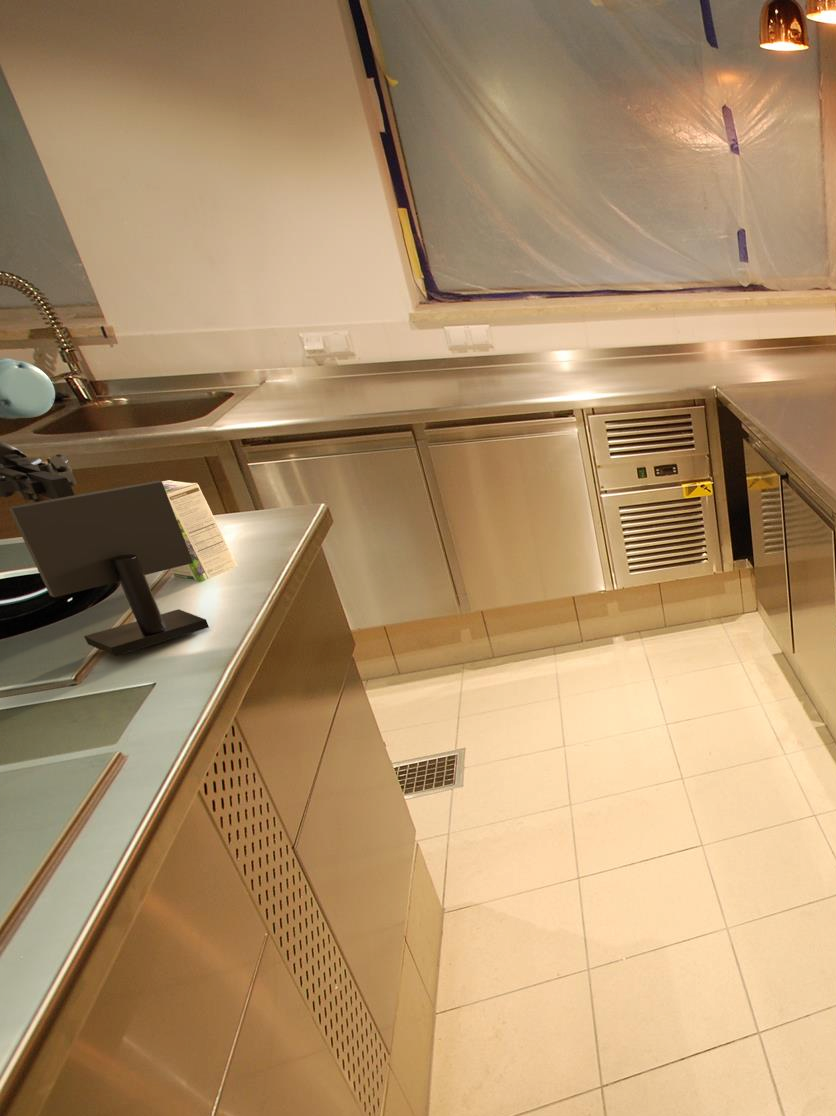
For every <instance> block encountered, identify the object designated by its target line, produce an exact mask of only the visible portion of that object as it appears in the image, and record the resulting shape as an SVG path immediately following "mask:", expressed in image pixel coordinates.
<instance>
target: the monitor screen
mask: <svg viewBox="0 0 836 1116" xmlns="http://www.w3.org/2000/svg"><path fill="white" fill-rule="evenodd" d="M8 511H9V512H10V514H11V516H12V519H13V521H14V523H15V525H16V527H17V529H18V531H19V533H20V535H21V537H22V540H23V542H24V544H25V546H26V548H27V550H28V552H29V554H30V556H31V559H32V560H33V563H34V565H35V567H36V569H37V571H38V573H39V575H40V577H41V580H42V582H43V584H44V586H45V588H46V590H47V592H48V594H49V596H50V597H52V598H58V597H63V596H67V595H70V594H75V593H78V592H82V591H87V590H91V589H95V588H99V587H103V586H106V585H107V586H108V585H111V584H114V583H118V582H119V583H120V581H119V579H118V577H117V574H116V572H115V570H114V567H113V565H112V563H111V559H112V558H114V557H117V556H121V555H129V554H132V555H136V556H137V558H138V561H139V563H140V566H141V568H142V570H143V573H144V575H145V576H147V575H150V574H156V573H159V572H163V571H167V570H170V569H171V568H175V567H180V566H184V565H188V564H192V563H193V560H192V558H191V555H190V552H189V550H188V547H187V545H186V542H185V540H184V537H183V534H182V532H181V529H180V527H179V524H178V522H177V519H176V516H175V514H174V511H173V509H172V506H171V504H170V501H169V498H168V496H167V493H166V491H165V488H164V486H163V483H162V481H160V480H154V481H147V482H143V483H137V484H131V485H125V486H120V487H114V488H109V489H104V490H97V491H91V492H85V493H80V494H74V496H68V497H63V498H57V499H51V498H50V499H46V500H40V501H35V502H27V503H23V504H18V505H12V506H8Z"/></svg>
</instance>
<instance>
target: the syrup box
mask: <svg viewBox="0 0 836 1116" xmlns="http://www.w3.org/2000/svg"><path fill="white" fill-rule="evenodd" d="M161 482H162V483H163V486H164V488H165V491H166V493H167V496H168V498H169V501H170V504H171V506H172V509H173V511H174V514H175V516H176V519H177V522H178V524H179V527H180V529H181V532H182V534H183V537H184V540H185V542H186V545H187V547H188V550H189V552H190V555H191V558H192V560H193V563H192V564H188V565H184V566H180V567H175V568H171V569H169V570H170V572H171V573H172V576H173V577H174V578H175V579H181V580H187V581H194V582H202V583H203V582H205V581H207V580H209V579H211V577H212V578H214V577H216V576H219V575H221V574H222V573H225V572H228V571H229V570H231V569H234V568H235V567H238V564H237V562H236V560H235V558H234V555H233V554H232V552H231V550H230V548H229V545H228V543H227V541H226V539H225V537H224V535H223V533H222V531H221V528H220V527H219V525H218V523H217V521H216V518H215V517H214V515H213V512H212V510H211V507H210V506H209V504H208V502H207V500H206V498H205V496H204V494H203V492H202V489H201V487H200V485H199V484H198V482H185V481H175V480H172V479H171V480H170V479H169V480H168V479H167V480H163V481H161Z"/></svg>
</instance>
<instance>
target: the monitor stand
mask: <svg viewBox="0 0 836 1116" xmlns="http://www.w3.org/2000/svg"><path fill="white" fill-rule="evenodd" d="M111 563H112V565H113V567H114V570H115V572H116V574H117V577H118V579H119V583H120V586H121V588H122V591H123V592H124V596H125V597H126V599H127V602H128V604H129V606H130V609H131V612H132V613H133V615H134V618H135V620H136V621H132V622H129V623H125V624H122V625H117V626H115V627H111V628H108V629H107V628H106V629H103V630H101V631H98V632H93V633H90V634H87V635H84V636H83V637H84V639H85V641H86V644H87V645H88V646H90V647H93V648H95V649H98V650H100V651H102V652H104V653H107V654H109V655H112V656H113V657H116V656H120V655H125V654H126V653H130V652H133V651H134V652H135V651H136V650H139V649H143V648H146V647H150V646H153V645H156V644H160V643H163V642H166V641H169V640H173V639H176V638H179V637H183V636H185V635H189V634H192V633H196V632H199V631H202V630H205V629H209V628H210V626H209V624H208V621H207V619H206V618H203V617H201V616H197V615H195V614H193V613H190V612H187V611H184V610H181V609H180V608H179V609H175V610H171V611H168V612H165V613H161V611H160V609H159V606H158V604H157V601H156V599H155V596H154V594H153V592H152V589H151V587H150V585H149V583H148V580H147V577H146V575H144V573H143V570H142V568H141V566H140V563H139V561H138V558H137V556H136V555H132V554H129V555H121V556H117V557H114V558H112V559H111Z"/></svg>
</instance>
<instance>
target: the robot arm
mask: <svg viewBox="0 0 836 1116" xmlns="http://www.w3.org/2000/svg"><path fill="white" fill-rule="evenodd" d="M55 399H56V390H55V387H54V384H53V382H52V381H51V379H50V377H49V376H48V375H47V374H46V373H45V372H44V371H43V370H42V369H41V368H39V367H37V366H36V365H33V364H32V363H30V362H26V361H21V360H16V359H14V358H8V357H1V358H0V418H1V419H7V420H16V419H29V418H31V419H32V418H36V417H40V416H42V415H44V414H46V413H47V412H49V411H50V409H51V408H52V407H53V405H54V403H55ZM45 460H46V461H43V460H42V459H40V458H39V457H35V456H34V457H32V456H31V457H29V456H27V455H26V454H25V453H23V452H22V451H21V450H20V449H18V448H16V447H14V446H12V445H10V444H8V443H5V442H1V441H0V498H9V497H11V496H14V494H19V495H21V496H22V498H23V500H24V501H33V500H37V499H38V496H37V495H39V496H42V497H44V498H49V499H50V500H51V499H57V498H63V497H68V496H74V495H75V492H74V490H73V488H72V487H75V486H76V485H77V481H76V479H75V477H74V474H73V469H72V467H71V465H70V462H69V460H68V458H67V455H66V454H61V453H58V454H55V455H53V456H51V457H50V456H47V457H46V458H45Z"/></svg>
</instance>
